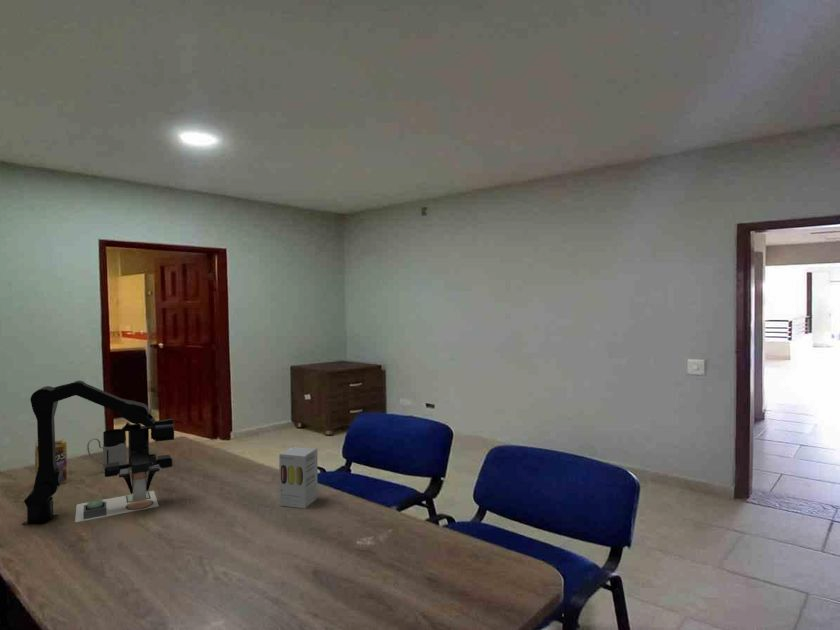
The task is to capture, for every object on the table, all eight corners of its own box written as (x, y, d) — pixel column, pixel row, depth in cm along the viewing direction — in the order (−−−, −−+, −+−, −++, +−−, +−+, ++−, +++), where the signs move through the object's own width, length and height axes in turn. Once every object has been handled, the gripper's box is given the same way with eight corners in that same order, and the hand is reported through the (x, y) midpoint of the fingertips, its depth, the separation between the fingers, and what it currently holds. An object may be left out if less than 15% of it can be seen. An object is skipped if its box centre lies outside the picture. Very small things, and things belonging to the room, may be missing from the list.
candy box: (36, 489, 178) (35, 445, 177) (34, 486, 181) (34, 443, 181) (67, 483, 184) (66, 441, 184) (65, 480, 187) (64, 438, 187)
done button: (87, 511, 153) (87, 506, 153) (87, 506, 156) (87, 501, 156) (102, 508, 155) (102, 503, 155) (102, 503, 158) (102, 499, 158)
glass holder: (132, 468, 201) (131, 430, 200) (93, 478, 189) (93, 438, 188) (120, 464, 205) (120, 427, 205) (82, 474, 193) (81, 435, 193)
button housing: (83, 519, 151) (83, 511, 151) (84, 512, 156) (83, 505, 156) (106, 515, 154) (106, 507, 154) (106, 508, 159) (106, 501, 159)
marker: (142, 501, 160) (142, 471, 160) (129, 501, 160) (128, 471, 160) (149, 496, 164) (149, 467, 164) (136, 496, 164) (135, 467, 164)
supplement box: (278, 506, 162) (277, 453, 162) (292, 495, 171) (291, 445, 171) (305, 509, 160) (305, 455, 159) (318, 498, 169) (318, 447, 168)
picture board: (74, 524, 149) (74, 521, 149) (76, 506, 163) (76, 503, 163) (158, 507, 161) (158, 505, 161) (153, 492, 175) (153, 490, 175)
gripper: (104, 454, 150) (105, 506, 150) (174, 444, 160) (175, 494, 160) (104, 445, 159) (104, 495, 160) (170, 437, 169) (170, 483, 170)
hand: (139, 492), depth 162 cm, fingers closed on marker, 4 cm apart
